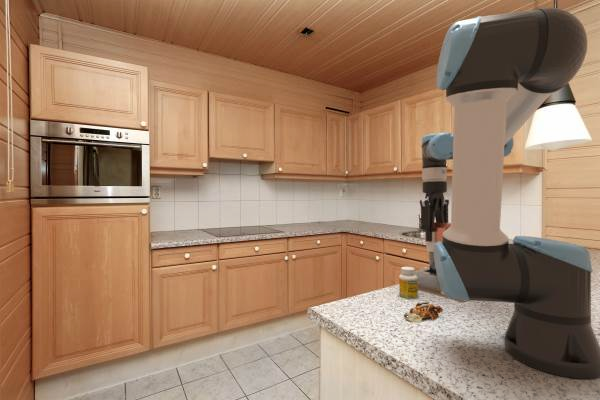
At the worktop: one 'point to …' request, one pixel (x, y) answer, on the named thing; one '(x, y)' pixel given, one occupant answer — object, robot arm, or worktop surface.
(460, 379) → the worktop surface
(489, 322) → the worktop surface
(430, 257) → the copper link bar
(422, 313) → the brown mottled lumpy part
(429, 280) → the eye block
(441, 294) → the board
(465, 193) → the robot arm
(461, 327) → the worktop surface
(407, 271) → the supplement bottle
